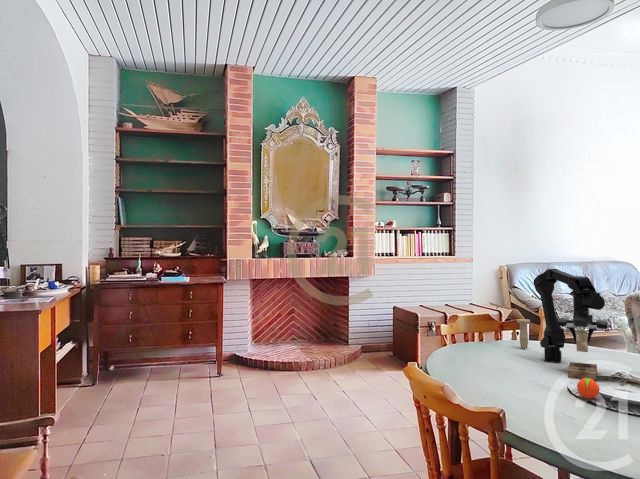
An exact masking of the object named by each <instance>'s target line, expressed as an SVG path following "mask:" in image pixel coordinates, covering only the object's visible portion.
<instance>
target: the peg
mask: <svg viewBox="0 0 640 479" xmlns="http://www.w3.org/2000/svg"><path fill="white" fill-rule="evenodd" d="M575 331H576V343H575V344H576V352H582V353H588V352H589V346H588V345H589V344H587V339H588V331H587V330H585V331H584V330H575Z"/></svg>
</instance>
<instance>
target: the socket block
mask: <svg viewBox="0 0 640 479" xmlns="http://www.w3.org/2000/svg"><path fill="white" fill-rule="evenodd" d="M596 376H598V365H597V363H586V362H577V361H569V364H568V367H567V378H569V379H579V380H581V379H583V378H590V379H594V380H596V381H597V378H596Z"/></svg>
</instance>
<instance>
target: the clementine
mask: <svg viewBox="0 0 640 479" xmlns="http://www.w3.org/2000/svg"><path fill="white" fill-rule="evenodd" d="M576 389H577V392H578V393H579V394H580V396H582V397H583V398H585V399H594V398H597V396H598V395H599V393H600V386H599V383H597V382H596V381H594V380H593V379H590V378H583V379H579V381H578V382H577V385H576Z"/></svg>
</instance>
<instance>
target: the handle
mask: <svg viewBox="0 0 640 479" xmlns="http://www.w3.org/2000/svg"><path fill="white" fill-rule="evenodd" d="M516 323H518V324H519V345H520V348H521V347H522V348H527V349H529V348H528V345H529V335H528V324H530V323H531V320H530V319H529V318H528V319H526V318H517V319H516Z"/></svg>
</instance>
